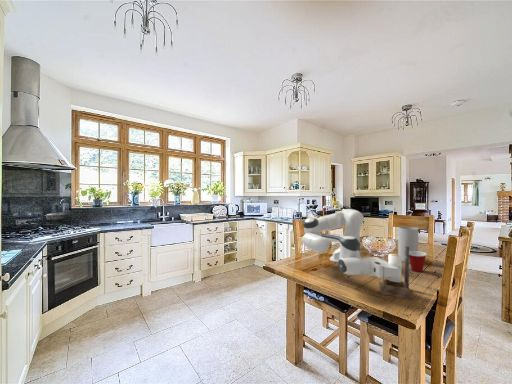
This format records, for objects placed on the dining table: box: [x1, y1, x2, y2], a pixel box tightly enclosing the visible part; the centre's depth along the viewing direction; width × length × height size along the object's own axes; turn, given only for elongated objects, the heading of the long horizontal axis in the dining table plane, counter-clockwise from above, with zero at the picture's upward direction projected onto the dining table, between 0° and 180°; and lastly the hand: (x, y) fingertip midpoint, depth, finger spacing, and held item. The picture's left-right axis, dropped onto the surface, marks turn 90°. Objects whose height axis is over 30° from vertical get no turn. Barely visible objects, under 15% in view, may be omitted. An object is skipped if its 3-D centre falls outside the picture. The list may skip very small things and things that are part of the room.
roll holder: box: [378, 246, 414, 301], centre depth 121 cm, size 14×14×23 cm
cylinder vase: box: [397, 226, 419, 264], centre depth 172 cm, size 12×12×25 cm
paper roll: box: [387, 253, 403, 282], centre depth 121 cm, size 6×6×13 cm
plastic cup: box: [409, 250, 428, 273], centre depth 151 cm, size 11×11×12 cm
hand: (396, 265), depth 121 cm, fingers closed on paper roll, 6 cm apart
